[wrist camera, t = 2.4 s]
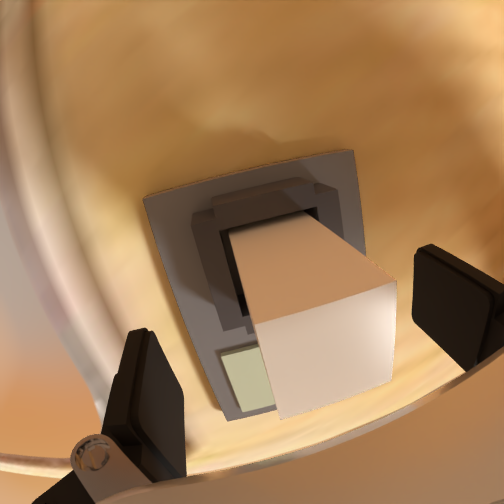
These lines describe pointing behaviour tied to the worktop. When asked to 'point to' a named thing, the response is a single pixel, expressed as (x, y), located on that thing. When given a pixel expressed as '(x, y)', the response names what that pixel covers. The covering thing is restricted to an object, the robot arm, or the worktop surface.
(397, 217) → the worktop surface
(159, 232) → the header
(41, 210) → the worktop surface
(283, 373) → the plug
